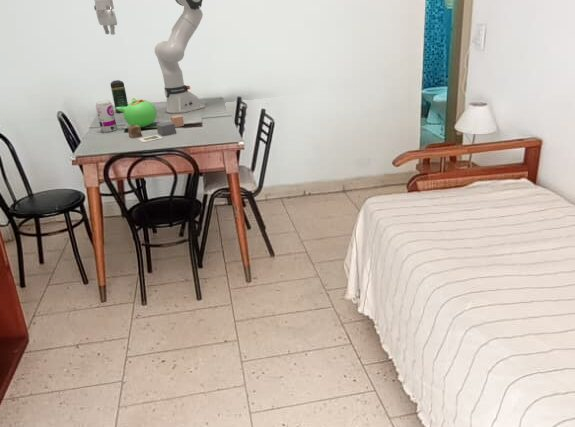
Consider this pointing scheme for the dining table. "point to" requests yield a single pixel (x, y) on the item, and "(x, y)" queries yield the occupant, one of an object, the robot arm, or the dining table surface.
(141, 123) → the toy bird
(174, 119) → the terracotta cube
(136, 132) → the walnut cube
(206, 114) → the dining table surface
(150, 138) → the card
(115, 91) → the coffee jar
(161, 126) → the charcoal base block
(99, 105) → the supplement can
